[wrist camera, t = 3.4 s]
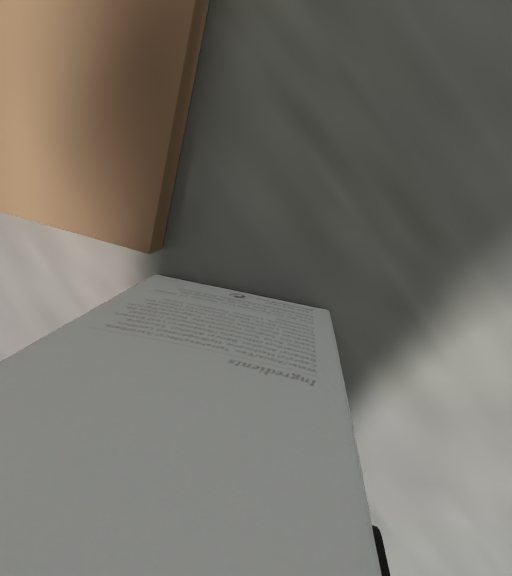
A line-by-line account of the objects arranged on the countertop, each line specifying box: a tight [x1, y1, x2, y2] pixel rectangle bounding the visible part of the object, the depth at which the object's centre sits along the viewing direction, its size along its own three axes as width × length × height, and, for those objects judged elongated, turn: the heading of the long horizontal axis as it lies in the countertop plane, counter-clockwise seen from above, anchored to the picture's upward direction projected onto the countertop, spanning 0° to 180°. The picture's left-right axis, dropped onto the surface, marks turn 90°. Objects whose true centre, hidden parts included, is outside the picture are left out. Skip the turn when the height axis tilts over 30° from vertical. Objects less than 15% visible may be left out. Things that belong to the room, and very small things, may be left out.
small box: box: [0, 275, 382, 576], centre depth 8 cm, size 8×6×10 cm
